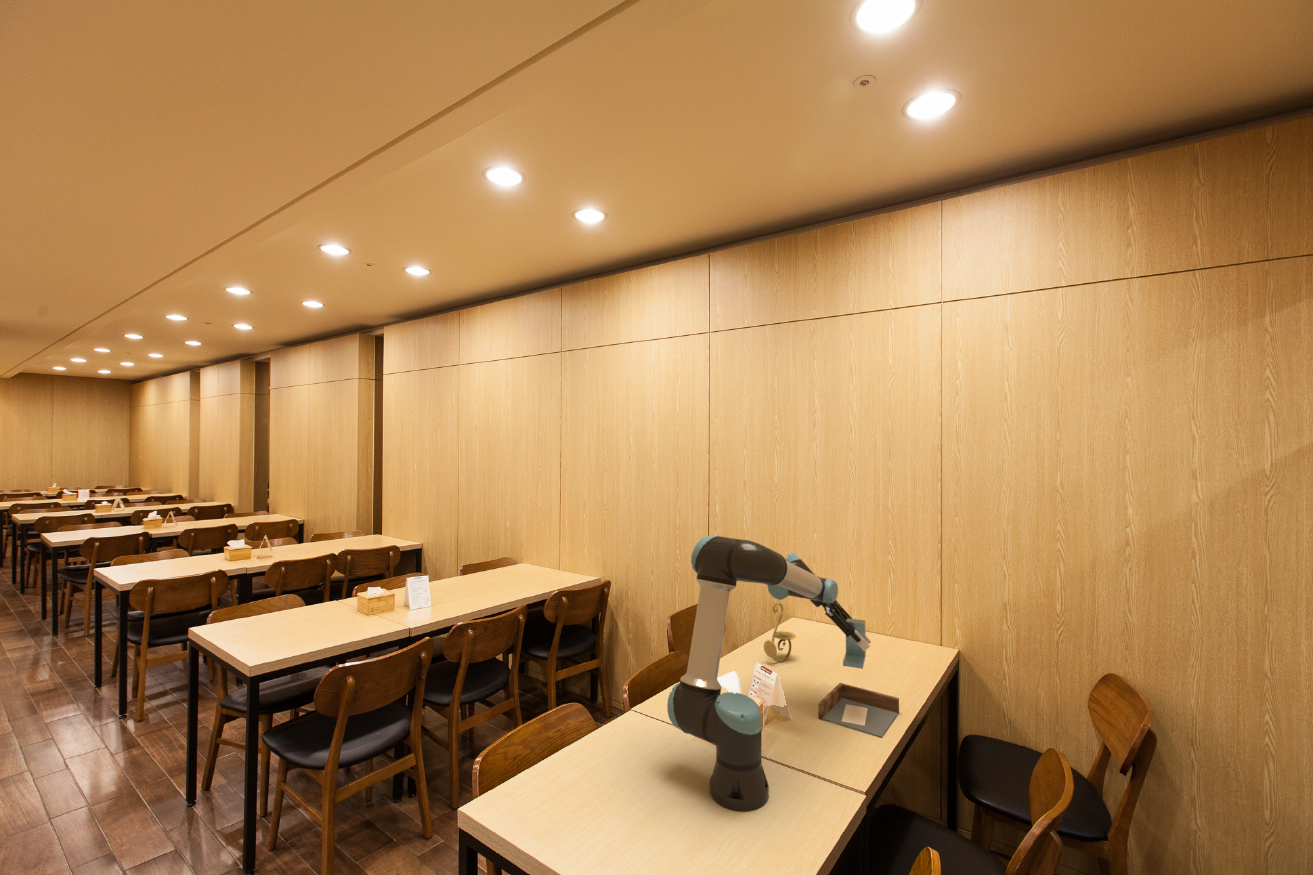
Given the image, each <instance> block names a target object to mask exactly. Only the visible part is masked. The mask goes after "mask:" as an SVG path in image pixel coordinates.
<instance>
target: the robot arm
mask: <svg viewBox="0 0 1313 875" xmlns="http://www.w3.org/2000/svg"><path fill="white" fill-rule="evenodd" d="M690 562H691V563H690V564H691V565H692V566H691V567H692V570H693V571H694V572H695V573H696V582H697V583H698V585H699V587H700V588H699V593H698V601H697V607H696V611H695V612H696V613H695V621H694V626H693V631H692V637H691V643H690V650H689V657H688V663H687V670H686V673H685V674H684V675H682V676H681V677H680V679H679V682H678V683H676V684H675V685H674V686H673V687H672V689H671V691H670V692H669V695H668V698H667V706H666V708H667V715H668V718H669V721H670V722H671V724H672V725H673V726H674V727H675V728H676V729H679V730H680V731H682V732H683V733H685V734H687V735H691V736H693V737H696V738H698V739H700V740H703V741H705V742H706V743H710V744H712V745H715V753H716V754H715V755H716V756H715V759H716V760H715V763H714V767H713V770H712V774H711V775H710V779H709V793H710V796H711V798H712V799H713V800H714V801H715V802H716V803H717V804H719V805H720V806H722V807H723V808H727V809H728V810H729V809H730V810H733V811H734V810H735V811H742V812H743V811H745V812H746V811H753V810H756V809H759V808H761V807H762V806H764V805H765V804H766V803H767V802H768V799H769V795H770V793H769V792H770V790H769V782H768V779H767V777H766V773H765V770H764V766H763V763H762V762H763V761H762V726H763V722H762V713H761V709H760V706H759V705H758V703H757V702H756V701H755V700H754V699H753V698H751V697H749V696H748V695H745V694H743V693H740V692H735V693H734V692H733V691H732V692H731V691H730V692H723V693H722V685H721V683H720V682H719V680H718V674H719V669H720V668H719V667H720V660H721V654H722V648H723V642H724V641H723V640H724V635H725V634H724V633H725V628H726V627H725V626H726V620H727V614H728V606H729V599H730V594H731V592H732V591H733V590H734V589H735V588H736V587H737V582H744V583H754V584H755V583H757V584H762V585H763V584H764V585H767V591H768V593H769V594H770V595H771V597H773V599H775V600H779V601H781V600H784V599H787V597H795V598H800V599H807V600H809V601H810V602H811V603H812V604H813V605H814V606H815V607H816V608H819V607H820V606H822V608H823V609H824V611H825V616H827V617H828V618H829V619H830V620H831V621H832V622H833V623H834V624H835V625H836V627H837V628H839V629H840V630H841V632H842V633H843V634H844V635H845V638H846V637H849V636H850V637H851V638H852V639H853V640H854V641H855V642H856V643H857V644H858V645H859V647H860V648H861V649H862V650H863V651H865V650H866V651H867V650H868V649H869V648H870V647H871V645H870V644H871V643H872V640H871V639H870V638H869V637H868V636H867V635H866V641H865V640H864V639H863V638H862V636H861V635H860V634H859V633H858V632H857V631H856V630H855V631H854V629H853V628H852V627H851V626H850V625H849V623H848V622H847V621H846V619H847V618H849V619H854V618H853V617H852V616H851V615H850V614H849V613H848V612H847V611H846V610H845V609H844V608H843V607H842V605H841V604H840V603H839V602H838V601H837V599H838V593H839V587H838V584H837V582H836V581H835V580H834V579H832V578H831V579H830V578H827V577H826V578H825V577H820V576H818V575H817V574H815V573H814V572H813V571H812V570H811V569H810V568H809V566H807V564H806V563H805V561H803V559H802V558H800V557H799V556H798V555H797V554H796V553H795V552H790V553H788V555H787V556H786V557H784V556H783V555H782V554H781V553H779V552H777V551H775V550H773V549H771V548H769V547H768V546H765V545H763V544H761V543H758V542H755V541H752V540H749V539H740V538H739V539H738V538H733V537H728V536H727V537H726V536H720V535H708V536H707V535H706V536H704V537H701V539H700V540H698V541H697V543H696V544H695V546H694V547H693V550H692V553H691V560H690Z"/></svg>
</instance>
